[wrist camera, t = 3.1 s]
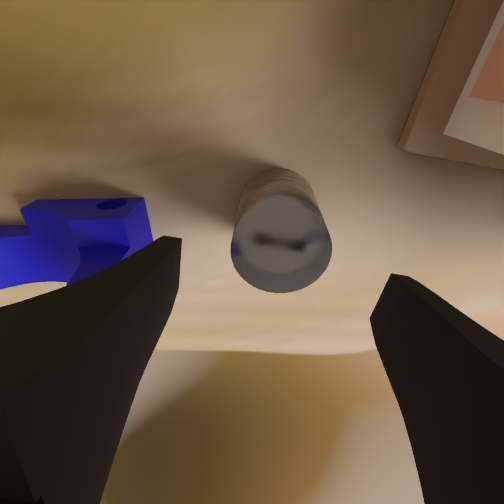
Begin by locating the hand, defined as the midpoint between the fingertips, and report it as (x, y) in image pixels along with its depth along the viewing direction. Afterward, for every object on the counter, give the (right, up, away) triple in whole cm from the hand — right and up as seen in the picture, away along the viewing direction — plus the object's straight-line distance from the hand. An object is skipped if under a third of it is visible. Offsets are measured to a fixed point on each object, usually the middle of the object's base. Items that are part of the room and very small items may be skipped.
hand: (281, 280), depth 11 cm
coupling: (0, +4, +6) cm, 7 cm away
